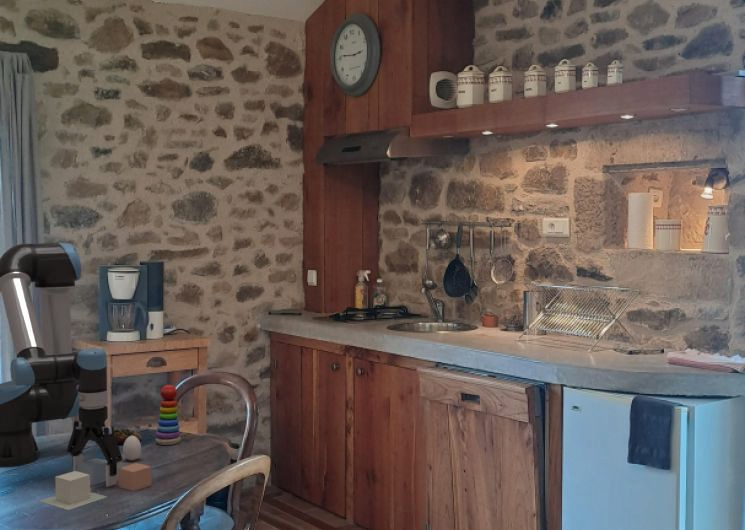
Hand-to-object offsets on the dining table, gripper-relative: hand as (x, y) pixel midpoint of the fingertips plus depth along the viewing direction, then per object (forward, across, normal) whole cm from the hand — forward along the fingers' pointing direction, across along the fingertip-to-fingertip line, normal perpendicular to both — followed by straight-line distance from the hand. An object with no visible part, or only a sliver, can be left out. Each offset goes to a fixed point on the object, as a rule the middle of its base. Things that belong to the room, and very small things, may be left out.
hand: (94, 483), depth 239 cm
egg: (0, -9, +21) cm, 23 cm away
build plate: (0, +8, -13) cm, 15 cm away
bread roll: (0, -28, +34) cm, 44 cm away
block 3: (0, +13, +3) cm, 13 cm away
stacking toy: (0, -15, +41) cm, 44 cm away
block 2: (0, 0, 0) cm, 0 cm away
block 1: (-1, +8, -13) cm, 15 cm away
